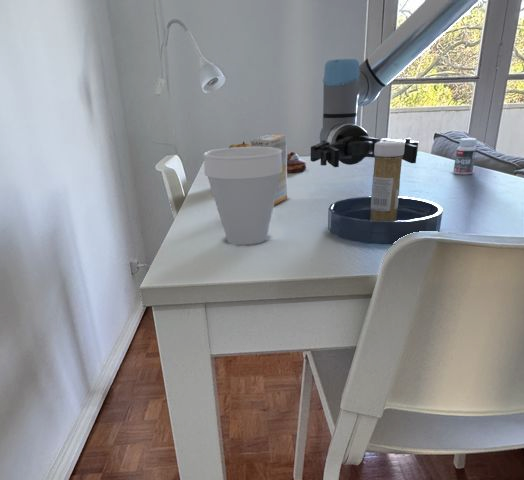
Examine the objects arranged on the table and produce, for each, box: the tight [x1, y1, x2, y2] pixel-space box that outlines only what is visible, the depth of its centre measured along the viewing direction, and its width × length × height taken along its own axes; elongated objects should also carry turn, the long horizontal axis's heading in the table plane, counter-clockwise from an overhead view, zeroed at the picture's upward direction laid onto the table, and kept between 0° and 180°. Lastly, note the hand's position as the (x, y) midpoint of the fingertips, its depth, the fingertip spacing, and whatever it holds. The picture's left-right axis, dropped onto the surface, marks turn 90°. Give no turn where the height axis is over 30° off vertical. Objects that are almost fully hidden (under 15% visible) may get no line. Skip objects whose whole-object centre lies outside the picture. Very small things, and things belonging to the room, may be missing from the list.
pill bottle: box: [452, 137, 478, 176], centre depth 123 cm, size 5×5×8 cm
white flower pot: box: [202, 147, 283, 246], centre depth 76 cm, size 12×12×14 cm
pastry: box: [287, 151, 307, 173], centre depth 137 cm, size 8×8×5 cm
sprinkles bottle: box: [370, 140, 405, 221], centre depth 76 cm, size 5×5×14 cm
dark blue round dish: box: [327, 195, 444, 245], centre depth 79 cm, size 18×18×4 cm
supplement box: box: [249, 134, 288, 206], centre depth 100 cm, size 8×5×13 cm, turn 154°
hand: (375, 156), depth 81 cm, fingers open, 13 cm apart
